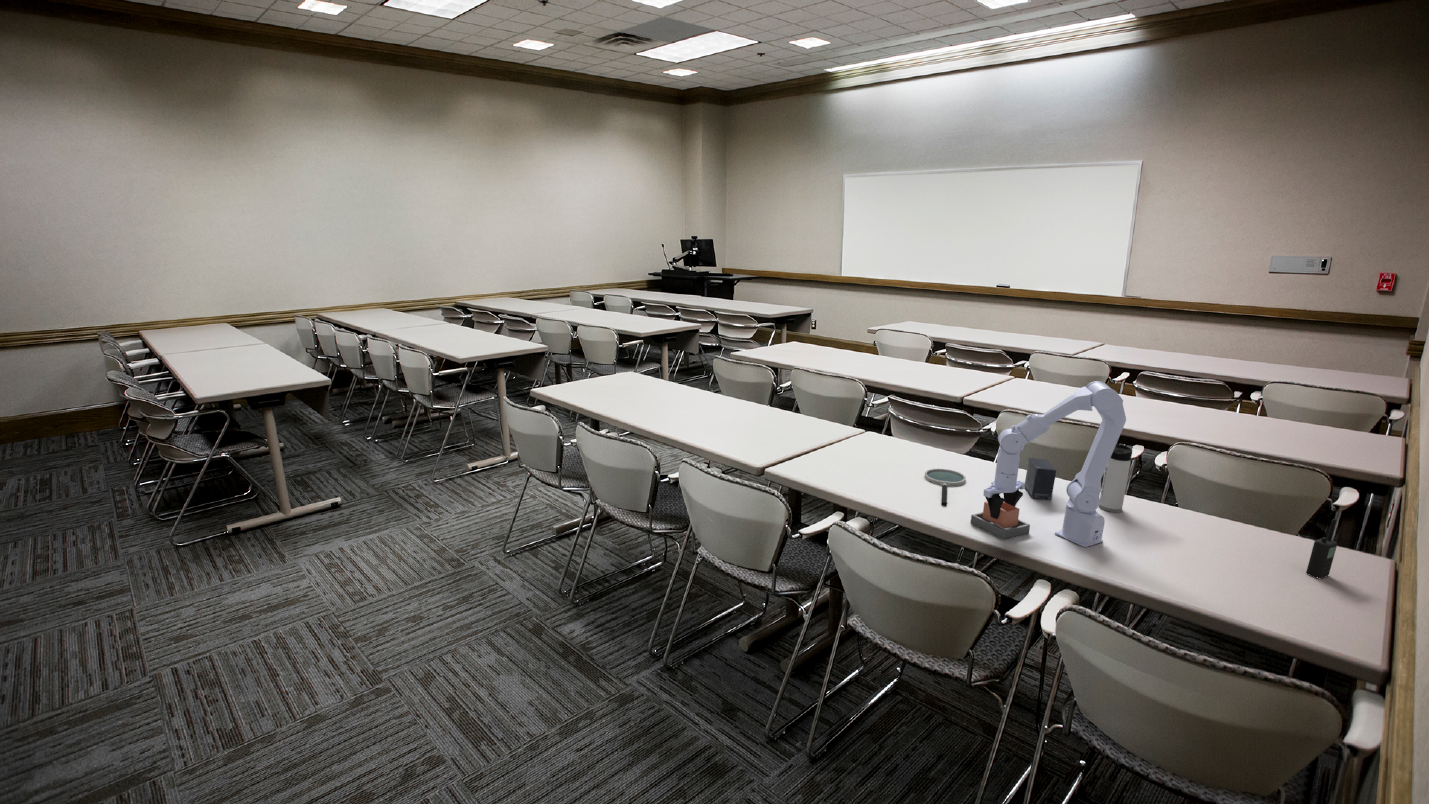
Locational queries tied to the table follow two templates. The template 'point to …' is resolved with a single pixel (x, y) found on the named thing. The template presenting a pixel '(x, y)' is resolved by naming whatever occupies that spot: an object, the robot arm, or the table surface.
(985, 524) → the charcoal crate
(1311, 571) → the walkie-talkie
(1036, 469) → the small box
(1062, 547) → the table surface
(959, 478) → the magnifying glass
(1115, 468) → the travel mug
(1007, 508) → the terracotta crate
